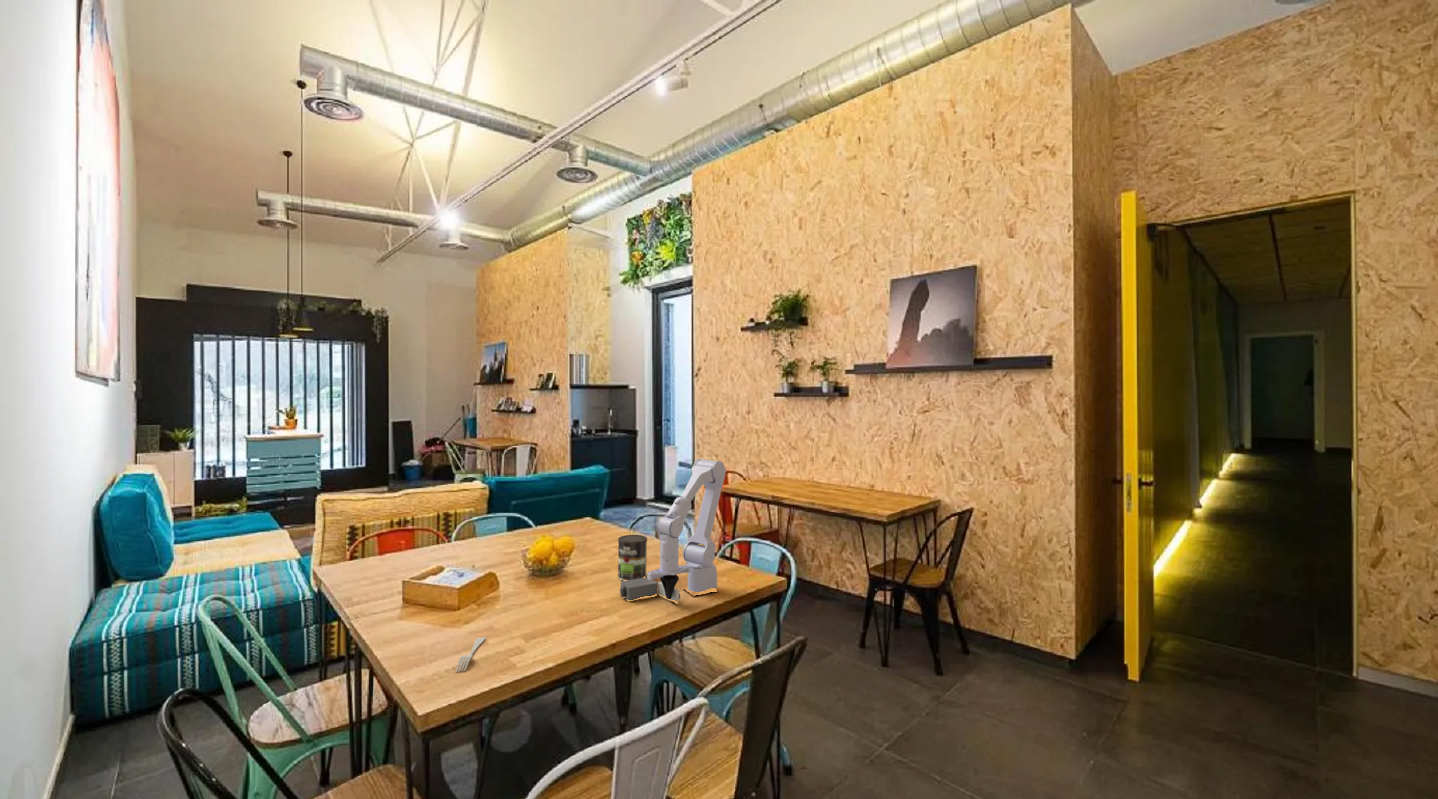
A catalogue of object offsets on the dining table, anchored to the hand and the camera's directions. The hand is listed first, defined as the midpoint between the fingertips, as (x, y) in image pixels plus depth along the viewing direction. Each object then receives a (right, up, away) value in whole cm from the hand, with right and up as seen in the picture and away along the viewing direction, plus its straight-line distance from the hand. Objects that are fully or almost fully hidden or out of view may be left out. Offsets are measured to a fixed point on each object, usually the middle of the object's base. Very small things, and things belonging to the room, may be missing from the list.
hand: (668, 598), depth 186 cm
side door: (0, -2, +3) cm, 4 cm away
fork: (-47, -3, -36) cm, 59 cm away
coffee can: (-15, -1, +25) cm, 30 cm away
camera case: (-10, -2, +7) cm, 12 cm away
